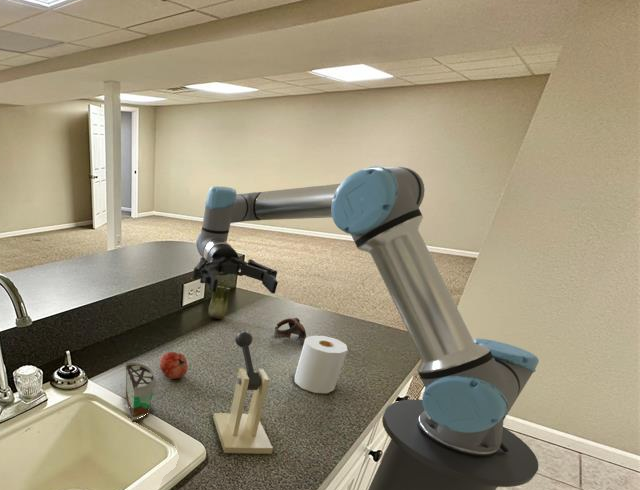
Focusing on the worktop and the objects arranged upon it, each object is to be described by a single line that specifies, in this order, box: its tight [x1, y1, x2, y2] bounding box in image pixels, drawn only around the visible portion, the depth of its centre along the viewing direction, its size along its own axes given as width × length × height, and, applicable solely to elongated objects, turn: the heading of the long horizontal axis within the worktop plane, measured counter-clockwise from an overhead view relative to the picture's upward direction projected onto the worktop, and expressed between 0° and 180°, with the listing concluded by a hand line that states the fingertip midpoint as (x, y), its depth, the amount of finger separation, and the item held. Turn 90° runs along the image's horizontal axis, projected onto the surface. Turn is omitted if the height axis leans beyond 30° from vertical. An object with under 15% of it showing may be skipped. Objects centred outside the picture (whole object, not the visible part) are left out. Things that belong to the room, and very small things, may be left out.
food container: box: [125, 361, 158, 423], centre depth 94 cm, size 12×6×10 cm, turn 9°
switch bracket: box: [212, 367, 274, 455], centre depth 85 cm, size 12×10×16 cm
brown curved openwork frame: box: [273, 317, 307, 346], centre depth 132 cm, size 12×10×8 cm
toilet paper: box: [294, 335, 348, 394], centre depth 106 cm, size 10×10×12 cm
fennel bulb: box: [208, 285, 231, 320], centre depth 144 cm, size 6×5×12 cm
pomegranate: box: [159, 351, 189, 380], centre depth 109 cm, size 7×7×10 cm
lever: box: [234, 330, 261, 391], centre depth 85 cm, size 14×4×4 cm, turn 0°
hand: (245, 286), depth 89 cm, fingers open, 13 cm apart
